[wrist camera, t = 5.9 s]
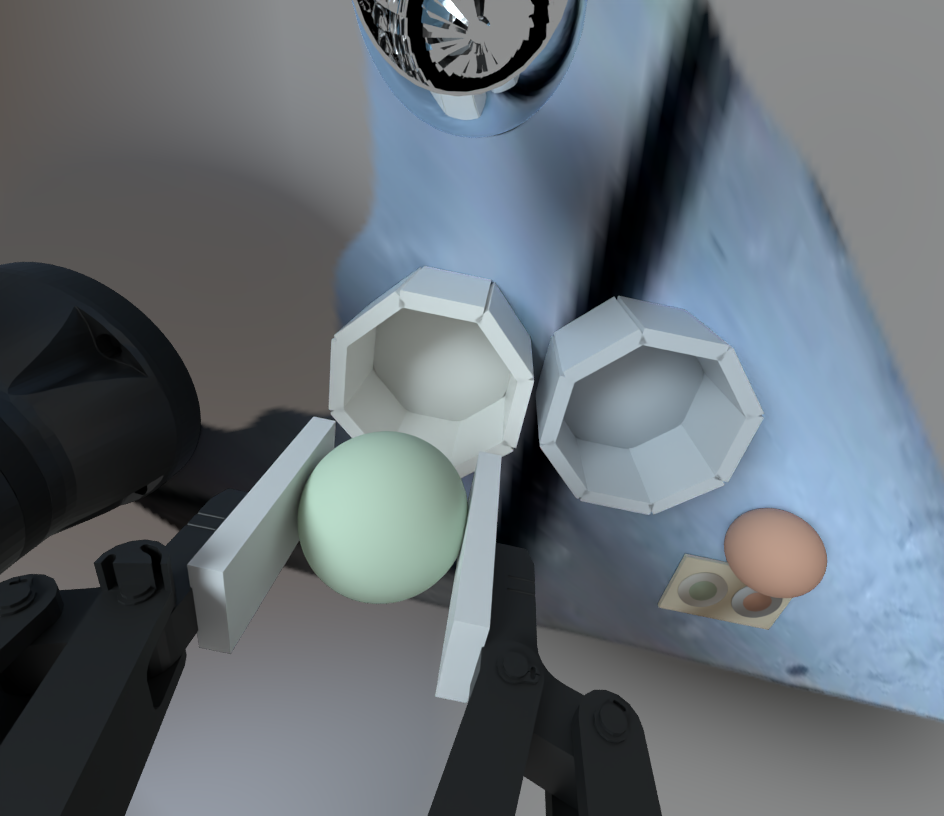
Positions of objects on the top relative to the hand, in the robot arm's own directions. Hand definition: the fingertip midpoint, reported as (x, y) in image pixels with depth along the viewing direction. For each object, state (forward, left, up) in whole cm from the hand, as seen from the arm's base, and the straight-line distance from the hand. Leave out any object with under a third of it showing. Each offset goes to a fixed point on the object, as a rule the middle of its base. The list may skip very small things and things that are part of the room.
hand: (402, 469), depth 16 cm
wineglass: (0, +13, -11) cm, 17 cm away
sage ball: (0, 0, 0) cm, 0 cm away
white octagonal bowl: (0, 0, -11) cm, 11 cm away
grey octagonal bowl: (+10, +1, -11) cm, 15 cm away
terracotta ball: (+21, -7, -11) cm, 25 cm away
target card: (+22, -13, -11) cm, 28 cm away
